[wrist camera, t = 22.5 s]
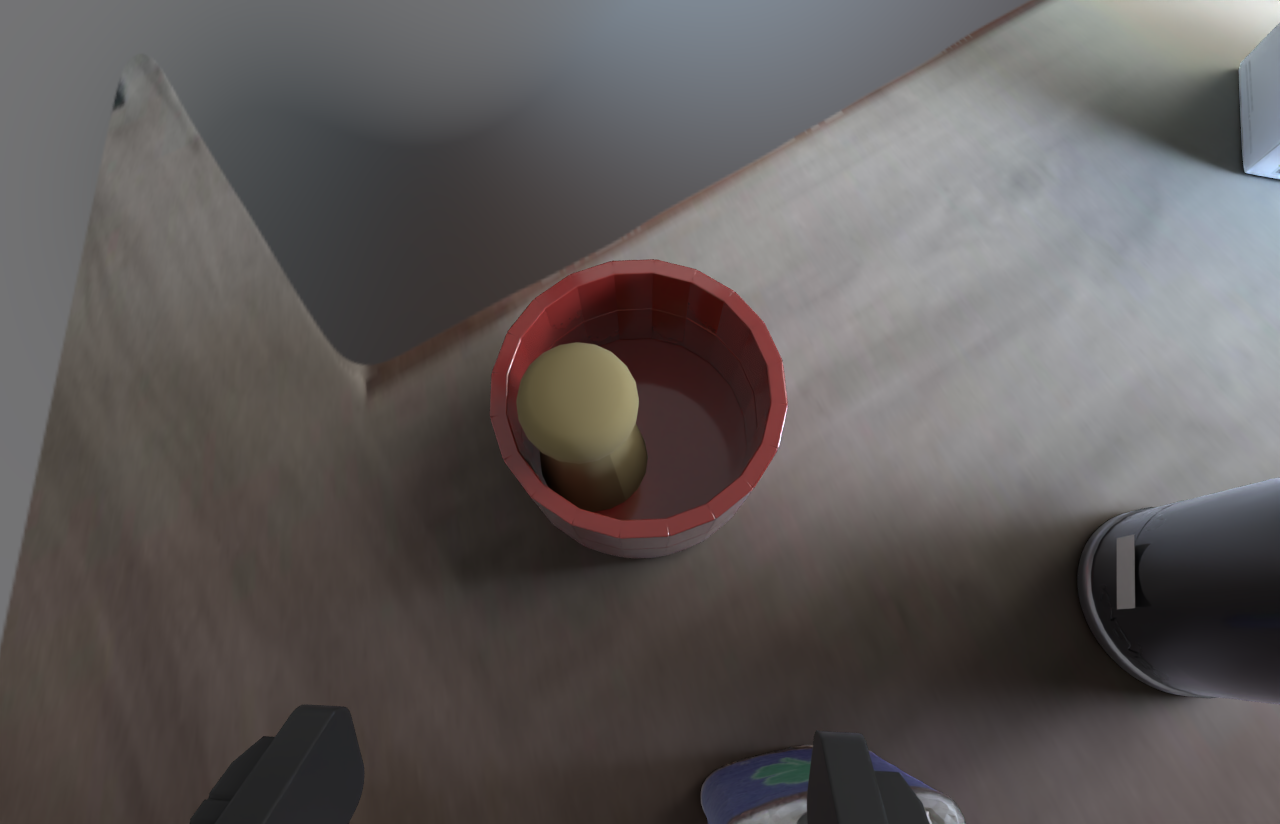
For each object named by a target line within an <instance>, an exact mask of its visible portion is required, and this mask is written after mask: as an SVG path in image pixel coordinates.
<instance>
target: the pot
mask: <svg viewBox="0 0 1280 824" xmlns="http://www.w3.org/2000/svg"><path fill="white" fill-rule="evenodd" d="M575 342H580V343H587V344H595V345H597V346H599V347H602V348H604V349H606V350H608V351H611V352H612V353H613V354H614V355H615V356H616V357H618V358H619V359H620V360H621V361H622V362H623V363H624V364H625V365H626V366H627V368H628V369H629V371H630V373H631V375H632V377H633V378H634V380H635V382H636V387H637V392H638V397H639V407H638V413H637V420H636V425H637V427H638V429H639V431H640V433H641V435H642V437H643V439H644V441H645V445H646V450H647V455H648V459H647V466H646V473H645V476H644V478H643V480H642V482H641V484H640V486H639V488H638V489H637V490H636V491H635V492H634V493H633V494H632V495H631V496H630V497H629V498H628V499H627V500H626V501H625V502H623V503H621V504H619V505H617V506H615V507H613V508H611V509H607V510H601V511H595V512H592V511H587V510H584V509H580V508H578V507H577V506H575V505H574V504H572V503H571V502H569V501H568V500H566V499H565V498H564V497H562V496H561V495H559V494H558V493H556V492H555V491H553V490H552V489H550V488H549V487H548V486H547V484H546V482H545V480H544V478H543V476H542V470H541V462H540V452H539V449H538V448H537V447H536V446H535V445H534V444H533V443H532V442H530V441H529V439H528V438H527V436H526V434H525V432H524V430H523V428H522V426H521V424H520V422H519V420H518V413H517V404H516V400H517V395H518V390H519V386H520V381H521V379H522V377H523V375H524V374H525V372H526V370H527V369H528V367H529V365H530V364H531V363H532V362H533V361H535V360H536V359H537V358H538V357H539V356H540V355H541V354H542V353H544V352H546V351H548V350H550V349H552V348H554V347H556V346H558V345H563V344H569V343H575ZM782 362H783V360H782V358H781V356H780V354H779V352H778V350H777V348H776V346H775V344H774V342H773V339H772V337H771V335H770V333H769V331H768V329H767V327H766V325H765V323H764V322H763V321H762V320H761V319H760V317H759V316H758V315H757V314H756V313H755V312H754V311H753V310H752V309H751V308H750V307H749V306H748V305H747V304H746V303H745V302H744V301H743V299H742V298H741V297H740V296H739V295H738V294H737V293H736V292H734V291H733V290H731V289H730V288H728V287H726V286H724V285H723V284H721V283H719V282H717V281H716V280H714V279H712V278H710V277H709V276H707V275H705V274H703V273H702V272H700V271H698V270H696V269H693V268H689V267H685V266H680V265H676V264H672V263H668V262H664V261H660V260H654V259H652V260H625V261H612V262H611V261H610V262H607V263H604V264H600V265H597V266H594V267H591V268H588V269H585V270H582V271H579V272H576V273H573V274H570V275H568V276H567V277H565V278H564V279H562V280H561V281H560V282H558V283H557V284H555V285H554V286H552V287H551V288H549V289H548V290H546V291H545V292H543V293H542V294H540V295H539V296H537V297H536V298H535V300H533V301H532V302H531V303H530V304H529V306H528V307H527V308H526V309H525V311H524V312H523V313H522V314H521V316H520V317H519V318H518V319H517V320H516V322H515V323H514V324H513V325H512V327H511V328H510V329H509V330H508V332H507V334H506V336H505V339H504V341H503V344H502V347H501V349H500V352H499V355H498V357H497V360H496V362H495V365H494V368H493V370H492V374H491V393H490V417H491V418H490V420H491V423H492V426H493V429H494V433H495V436H496V439H497V442H498V446H499V449H500V452H501V455H502V458H503V460H504V462H505V464H506V465H507V466H508V468H509V469H510V470H511V472H512V473H513V474H514V476H515V477H516V478H517V480H518V481H519V482H520V484H521V485H522V486H523V488H524V489H525V491H526V492H527V493H528V495H529V496H530V497H531V498H532V500H533V501H534V502H535V503H536V504H537V506H538V507H539V508H540V509H541V510H542V512H543V513H544V514H545V515H546V517H547V518H548V519H549V520H550V521H551V523H552V524H553V525H554V526H556V527H557V528H559V529H560V530H561V531H563V532H564V533H566V534H567V535H568V536H570V537H571V538H572V539H574V540H576V541H577V542H579V543H580V544H582V545H583V546H585V547H587V548H591V549H594V550H596V551H599V552H602V553H605V554H609V555H613V556H617V557H622V558H624V557H625V558H654V557H663V556H667V555H670V554H673V553H676V552H680V551H683V550H685V549H687V548H690V547H692V546H694V545H696V544H699V543H701V542H703V541H704V540H706V539H707V538H708V537H709V536H711V535H712V534H713V533H714V532H716V531H717V530H718V529H719V528H720V527H722V526H723V525H724V524H725V523H726V522H728V521H729V520H730V519H731V518H732V517H733V516H734V515H735V513H736V512H737V510H738V509H739V508H740V506H741V505H742V504H743V502H744V501H745V500H746V498H747V497H748V496H749V494H750V493H751V492H752V490H753V489H754V488H755V486H756V484H757V483H758V481H759V480H760V478H761V476H762V475H763V473H764V472H765V470H766V468H767V467H768V465H769V464H770V462H771V460H772V459H773V457H774V456H775V454H776V452H777V450H778V448H779V444H780V440H781V435H782V431H783V426H784V422H785V417H786V413H787V408H788V401H787V393H786V384H785V376H784V367H783V363H782Z"/></svg>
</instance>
